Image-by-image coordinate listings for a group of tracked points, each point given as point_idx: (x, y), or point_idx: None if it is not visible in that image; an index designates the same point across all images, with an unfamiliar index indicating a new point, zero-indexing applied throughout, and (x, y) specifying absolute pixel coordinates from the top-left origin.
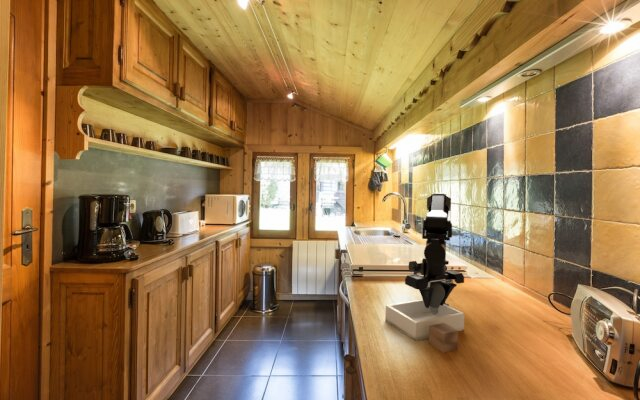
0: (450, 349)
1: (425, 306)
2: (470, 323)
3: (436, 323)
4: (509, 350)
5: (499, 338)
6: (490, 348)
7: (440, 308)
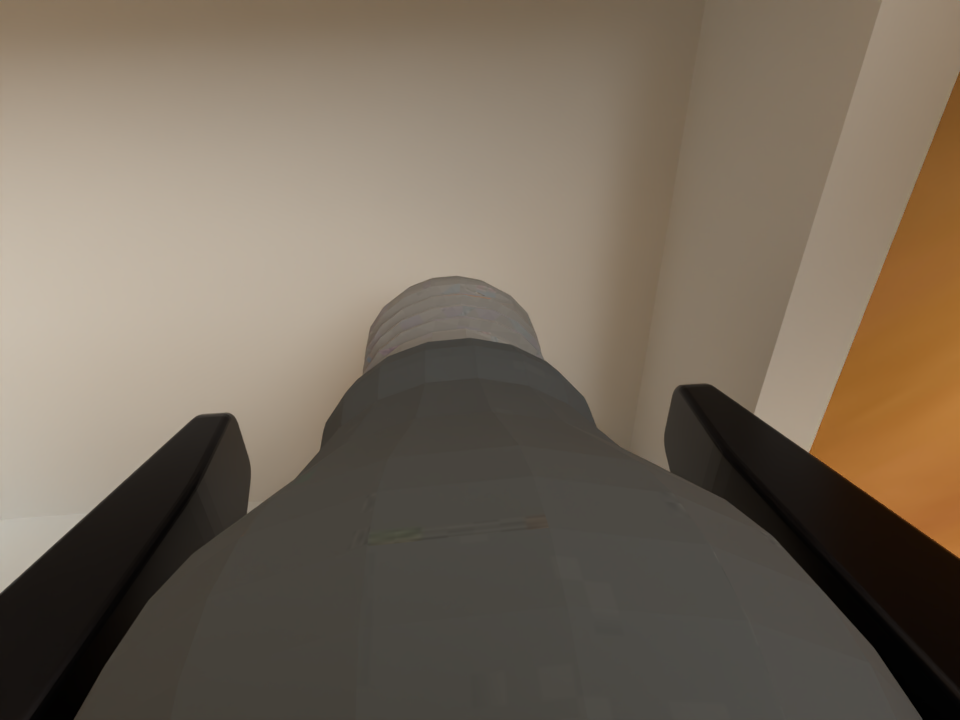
0: None
1: (192, 434)
2: (904, 379)
3: None
4: None
5: None
6: None
7: (740, 244)
